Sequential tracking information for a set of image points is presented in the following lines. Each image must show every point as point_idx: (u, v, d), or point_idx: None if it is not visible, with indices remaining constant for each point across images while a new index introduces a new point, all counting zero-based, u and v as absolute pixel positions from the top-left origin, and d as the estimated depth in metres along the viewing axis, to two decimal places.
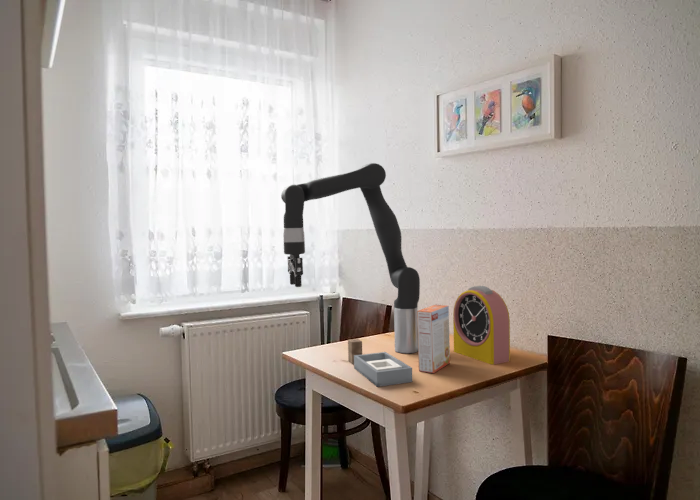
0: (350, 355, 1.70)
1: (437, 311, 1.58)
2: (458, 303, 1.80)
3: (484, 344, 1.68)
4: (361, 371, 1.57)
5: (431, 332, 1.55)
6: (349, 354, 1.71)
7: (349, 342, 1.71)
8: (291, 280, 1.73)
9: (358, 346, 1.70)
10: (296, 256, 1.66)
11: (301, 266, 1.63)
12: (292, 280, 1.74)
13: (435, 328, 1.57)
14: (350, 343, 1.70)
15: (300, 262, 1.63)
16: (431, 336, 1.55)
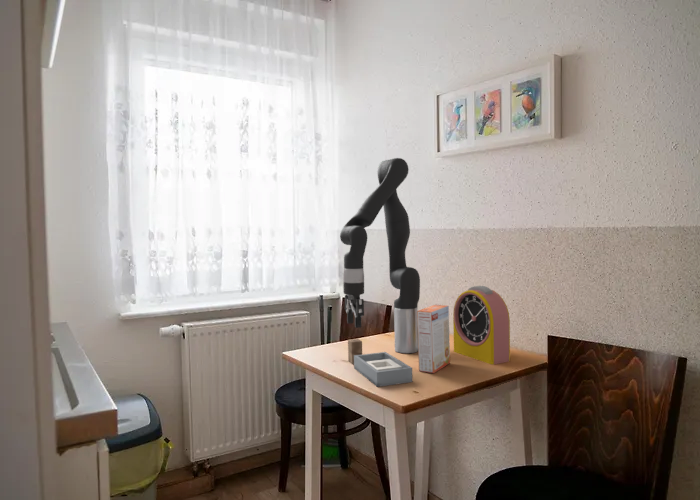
0: (350, 355, 1.70)
1: (437, 311, 1.58)
2: (458, 303, 1.80)
3: (484, 344, 1.68)
4: (361, 371, 1.57)
5: (431, 332, 1.55)
6: (349, 354, 1.71)
7: (349, 342, 1.71)
8: (348, 319, 1.74)
9: (358, 346, 1.70)
10: (357, 297, 1.67)
11: (362, 307, 1.64)
12: (349, 319, 1.74)
13: (435, 328, 1.57)
14: (350, 343, 1.70)
15: (361, 303, 1.64)
16: (431, 336, 1.55)
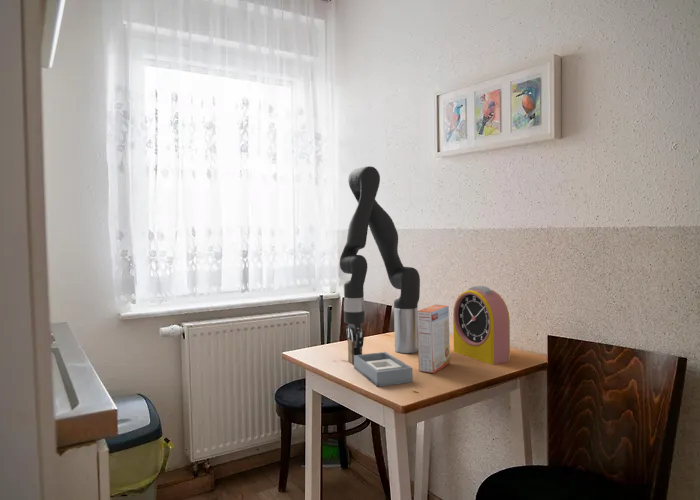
0: (350, 355, 1.70)
1: (437, 311, 1.58)
2: (458, 303, 1.80)
3: (484, 344, 1.68)
4: (361, 371, 1.57)
5: (431, 332, 1.55)
6: (349, 354, 1.71)
7: (349, 342, 1.71)
8: None
9: None
10: (357, 326, 1.67)
11: (362, 340, 1.66)
12: None
13: (435, 328, 1.57)
14: (350, 343, 1.69)
15: (362, 336, 1.65)
16: (431, 336, 1.55)
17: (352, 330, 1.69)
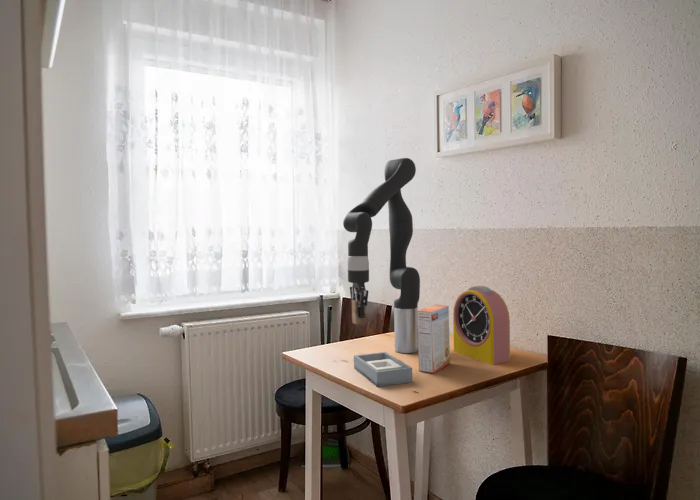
0: (354, 315, 1.66)
1: (437, 311, 1.58)
2: (458, 303, 1.80)
3: (484, 344, 1.68)
4: (361, 371, 1.57)
5: (431, 332, 1.55)
6: (353, 314, 1.67)
7: (353, 302, 1.67)
8: None
9: None
10: (361, 285, 1.63)
11: (366, 299, 1.62)
12: None
13: (435, 328, 1.57)
14: (354, 303, 1.66)
15: (366, 295, 1.61)
16: (431, 336, 1.55)
17: (356, 289, 1.65)
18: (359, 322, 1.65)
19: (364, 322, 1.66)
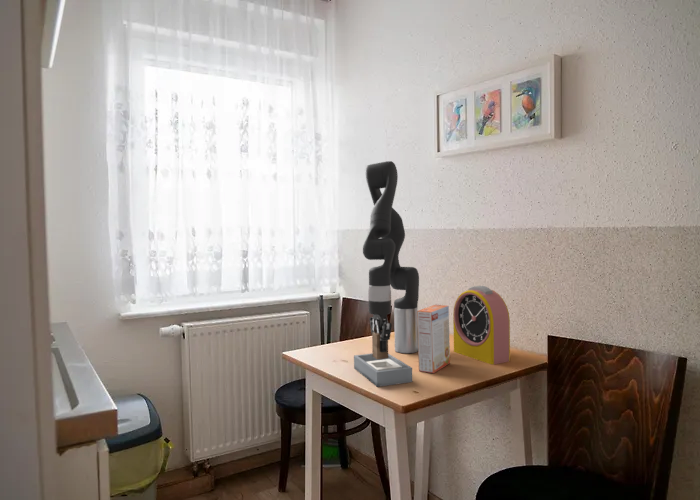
0: (375, 349, 1.54)
1: (437, 311, 1.58)
2: (458, 303, 1.80)
3: (484, 344, 1.68)
4: (361, 371, 1.57)
5: (431, 332, 1.55)
6: (373, 348, 1.55)
7: (374, 335, 1.55)
8: None
9: None
10: (384, 317, 1.52)
11: (389, 332, 1.50)
12: None
13: (435, 328, 1.57)
14: (375, 336, 1.54)
15: (389, 328, 1.50)
16: (431, 336, 1.55)
17: (378, 321, 1.53)
18: (381, 357, 1.54)
19: (386, 357, 1.54)
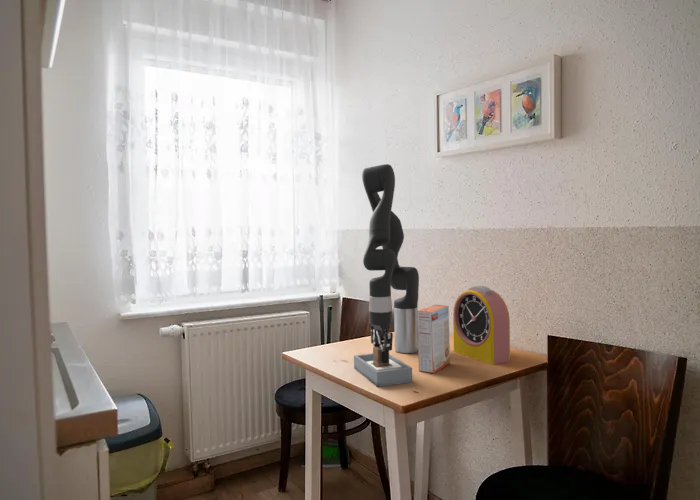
0: (376, 364, 1.55)
1: (437, 311, 1.58)
2: (458, 303, 1.80)
3: (484, 344, 1.68)
4: (361, 371, 1.57)
5: (431, 332, 1.55)
6: (374, 363, 1.56)
7: (374, 350, 1.55)
8: None
9: None
10: (384, 328, 1.52)
11: (391, 342, 1.50)
12: None
13: (435, 328, 1.57)
14: (376, 351, 1.54)
15: (390, 338, 1.49)
16: (431, 336, 1.55)
17: (378, 332, 1.53)
18: None
19: None
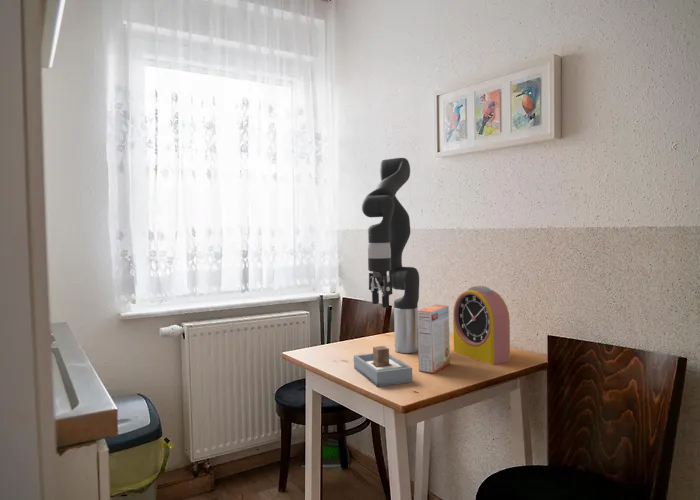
0: (376, 364, 1.55)
1: (437, 311, 1.58)
2: (458, 303, 1.80)
3: (484, 344, 1.68)
4: (361, 371, 1.57)
5: (431, 332, 1.55)
6: (374, 363, 1.56)
7: (374, 350, 1.55)
8: (374, 299, 1.58)
9: (385, 354, 1.54)
10: (383, 274, 1.51)
11: (390, 285, 1.48)
12: (375, 299, 1.59)
13: (435, 328, 1.57)
14: (376, 351, 1.54)
15: (389, 281, 1.48)
16: (431, 336, 1.55)
17: (377, 278, 1.52)
18: None
19: None
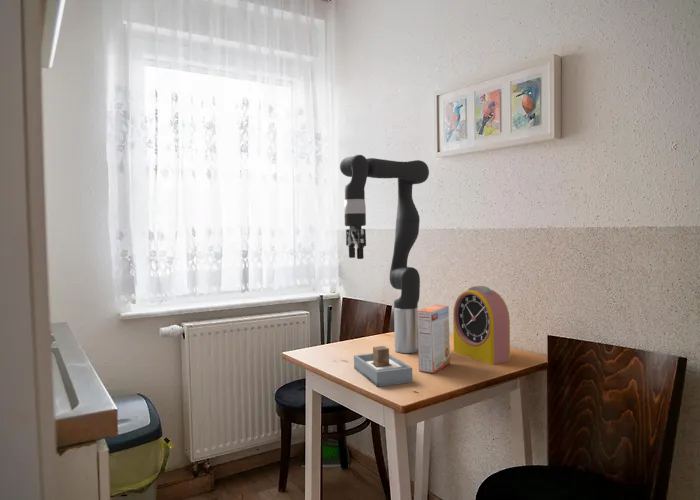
0: (376, 364, 1.55)
1: (437, 311, 1.58)
2: (458, 303, 1.80)
3: (484, 344, 1.68)
4: (361, 371, 1.57)
5: (431, 332, 1.55)
6: (374, 363, 1.56)
7: (374, 350, 1.55)
8: (350, 253, 1.70)
9: (385, 354, 1.54)
10: (358, 228, 1.63)
11: (364, 237, 1.60)
12: (351, 253, 1.71)
13: (435, 328, 1.57)
14: (376, 351, 1.54)
15: (363, 233, 1.60)
16: (431, 336, 1.55)
17: (353, 232, 1.64)
18: None
19: None
